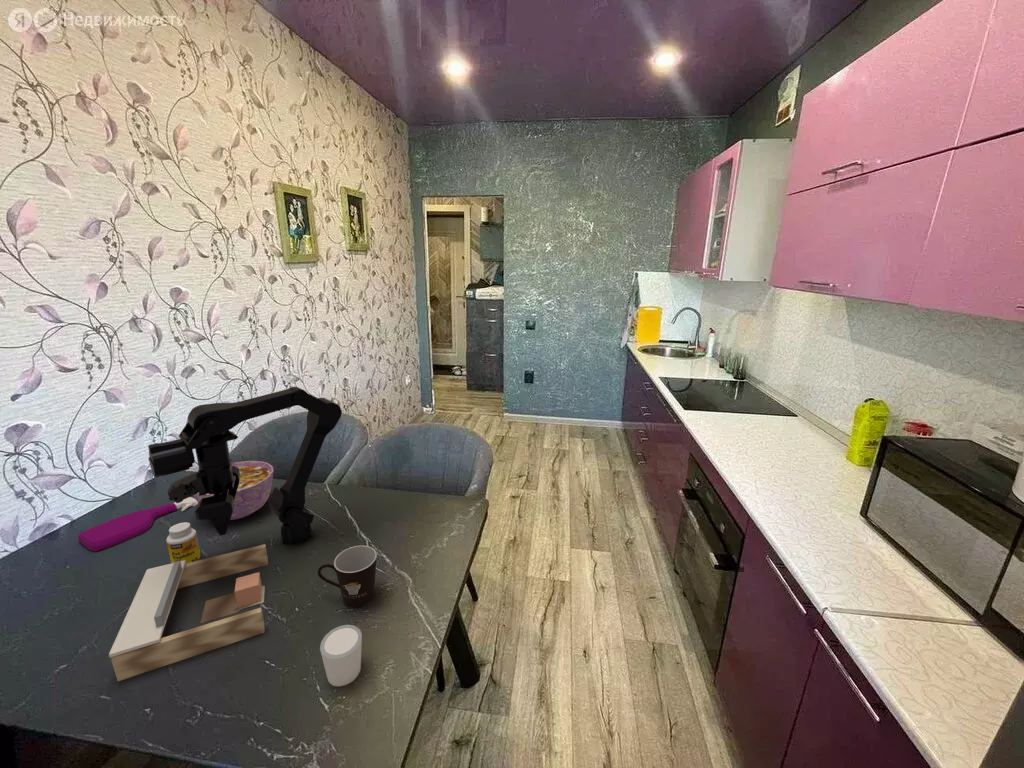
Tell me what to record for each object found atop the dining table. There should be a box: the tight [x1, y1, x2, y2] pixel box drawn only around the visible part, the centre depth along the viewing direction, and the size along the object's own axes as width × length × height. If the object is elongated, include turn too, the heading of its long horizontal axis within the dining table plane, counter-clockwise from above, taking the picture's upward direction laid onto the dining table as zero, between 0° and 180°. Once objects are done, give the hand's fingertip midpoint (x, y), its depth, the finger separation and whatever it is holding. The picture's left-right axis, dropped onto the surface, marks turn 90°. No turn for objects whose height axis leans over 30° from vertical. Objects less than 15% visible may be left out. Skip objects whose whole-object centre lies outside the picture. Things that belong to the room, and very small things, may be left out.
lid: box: [108, 560, 186, 658], centre depth 78 cm, size 6×22×3 cm, turn 29°
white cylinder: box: [319, 624, 363, 687], centre depth 72 cm, size 7×7×7 cm
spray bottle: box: [77, 496, 198, 553], centre depth 112 cm, size 3×11×24 cm
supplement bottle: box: [166, 521, 202, 564], centre depth 96 cm, size 6×6×10 cm
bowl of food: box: [193, 460, 274, 521], centre depth 117 cm, size 20×20×12 cm
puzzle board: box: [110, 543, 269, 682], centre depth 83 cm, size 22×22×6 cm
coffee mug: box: [317, 545, 378, 609], centre depth 89 cm, size 12×9×10 cm
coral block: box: [234, 571, 263, 608], centre depth 86 cm, size 4×4×4 cm
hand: (225, 523), depth 93 cm, fingers open, 9 cm apart
